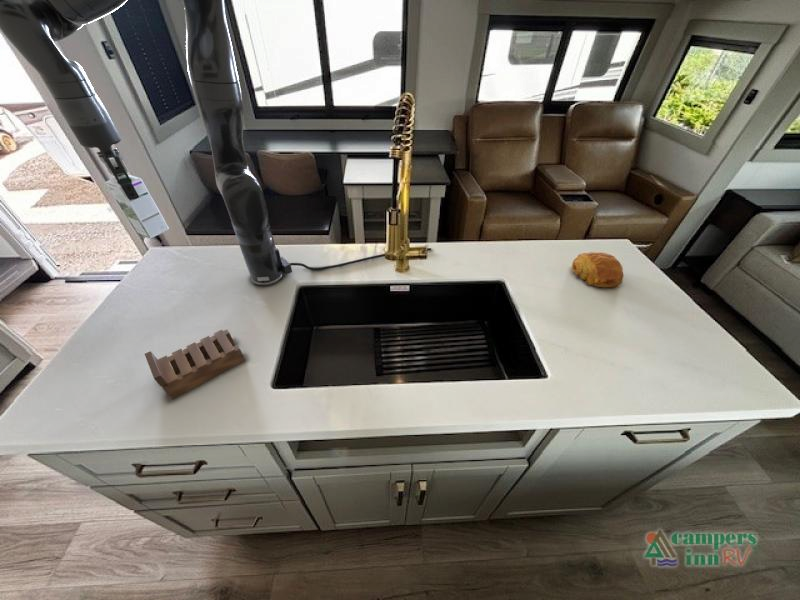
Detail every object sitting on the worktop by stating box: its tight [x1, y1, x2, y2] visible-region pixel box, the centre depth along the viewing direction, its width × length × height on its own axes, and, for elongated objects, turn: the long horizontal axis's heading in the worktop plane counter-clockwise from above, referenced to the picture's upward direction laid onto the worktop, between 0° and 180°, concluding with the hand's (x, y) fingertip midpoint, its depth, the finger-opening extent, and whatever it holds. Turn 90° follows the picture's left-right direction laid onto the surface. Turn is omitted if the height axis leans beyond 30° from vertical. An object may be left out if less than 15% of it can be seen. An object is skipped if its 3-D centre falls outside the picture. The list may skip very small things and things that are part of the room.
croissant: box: [571, 251, 624, 288], centre depth 104 cm, size 14×16×8 cm
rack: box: [144, 328, 246, 400], centre depth 73 cm, size 16×8×8 cm, turn 132°
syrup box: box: [104, 174, 170, 239], centre depth 83 cm, size 6×6×14 cm
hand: (131, 193), depth 80 cm, fingers closed on syrup box, 7 cm apart
